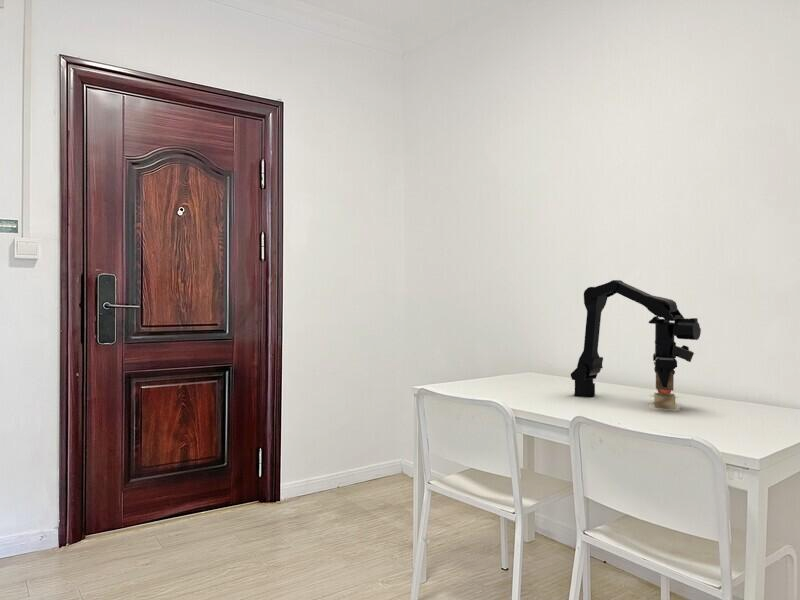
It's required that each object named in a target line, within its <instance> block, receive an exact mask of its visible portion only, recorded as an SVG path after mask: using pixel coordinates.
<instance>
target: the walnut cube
mask: <svg viewBox="0 0 800 600" xmlns="http://www.w3.org/2000/svg"><path fill="white" fill-rule="evenodd" d="M674 376H675V374H674V375H673V373H670V376H669V380H668V384H667V387H663V386H662V383H661V380H660V378H659V375H658V373H657V372H656V373H655V389H656V391H658V390H671V392H672V391H674Z"/></svg>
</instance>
